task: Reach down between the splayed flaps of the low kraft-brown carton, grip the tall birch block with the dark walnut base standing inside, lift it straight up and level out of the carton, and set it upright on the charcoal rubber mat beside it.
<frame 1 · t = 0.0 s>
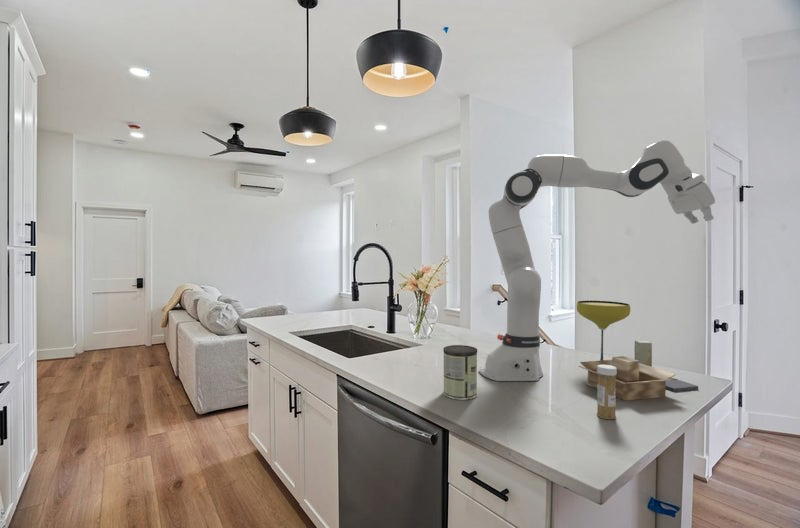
hand: (702, 221, 129), 54 cm above the table, tool tilted 30°, fingers open, 8 cm apart
coffee can: (459, 395, 121), on the table
box: (642, 371, 148), on the table
mat: (671, 385, 131), on the table
block: (625, 374, 126), in the carton
cocktail glass: (601, 369, 150), on the table
sprinkles bottle: (606, 417, 105), on the table
carton: (624, 390, 126), on the table
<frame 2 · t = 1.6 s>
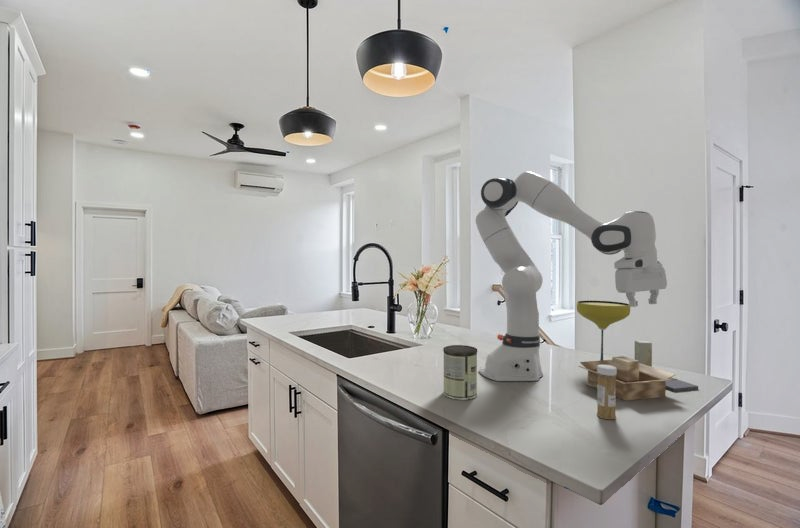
hand: (643, 305, 125), 27 cm above the table, tool pointing down, fingers open, 8 cm apart
nothing on the table moved.
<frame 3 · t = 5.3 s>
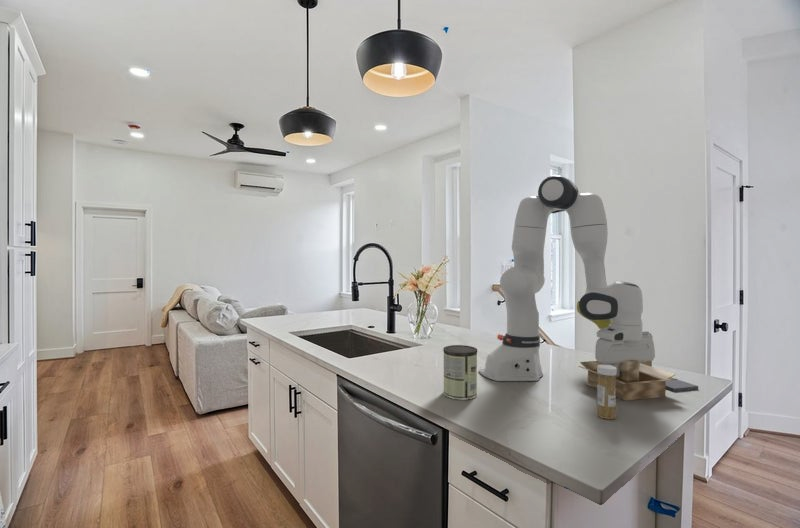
hand: (625, 375, 126), 5 cm above the table, tool pointing down, fingers closed on block, 4 cm apart
block: (625, 374, 126), in the carton, touching gripper
everything else where it was.
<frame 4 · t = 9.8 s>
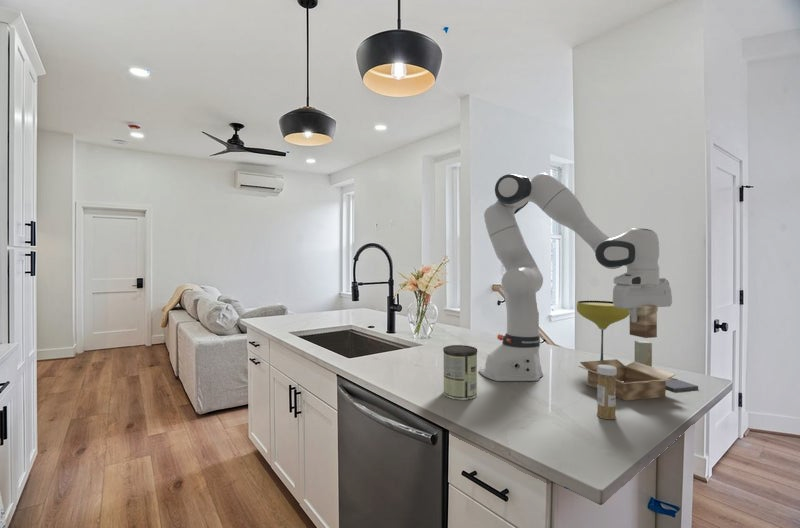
hand: (642, 321, 127), 22 cm above the table, tool pointing down, fingers closed on block, 4 cm apart
block: (642, 320, 127), point 22 cm above the table, touching gripper
everything else where it was.
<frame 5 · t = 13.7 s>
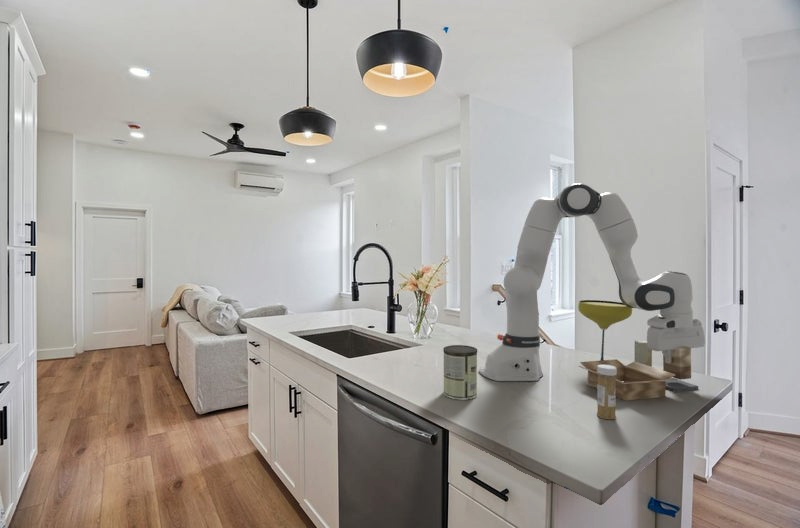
hand: (676, 362, 130), 8 cm above the table, tool pointing down, fingers closed on block, 4 cm apart
block: (676, 361, 130), point 8 cm above the table, touching gripper
cocktail glass: (601, 369, 150), on the table, touching arm
everything else where it was.
when the fingers open (8 cm above the table, at t = 14.4 s): block drops 2 cm, resting on mat.
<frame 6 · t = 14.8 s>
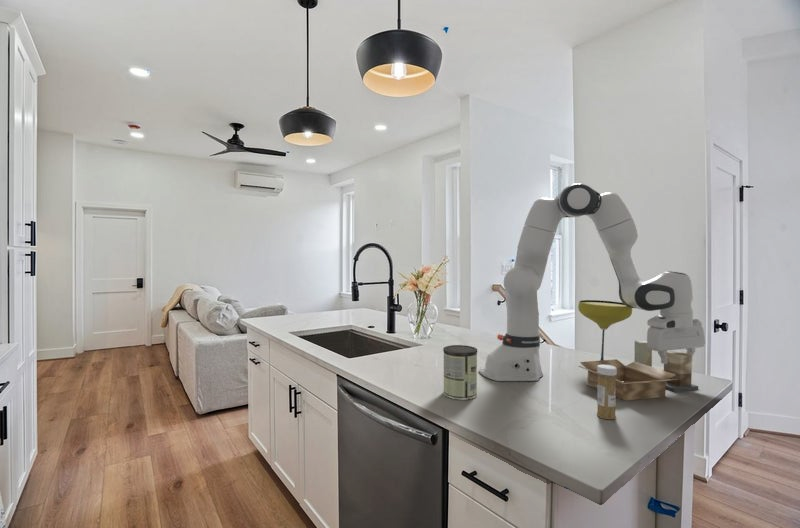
hand: (676, 362, 130), 8 cm above the table, tool pointing down, fingers open, 8 cm apart
block: (677, 368, 130), on the mat, point 6 cm above the table
everything else where it was.
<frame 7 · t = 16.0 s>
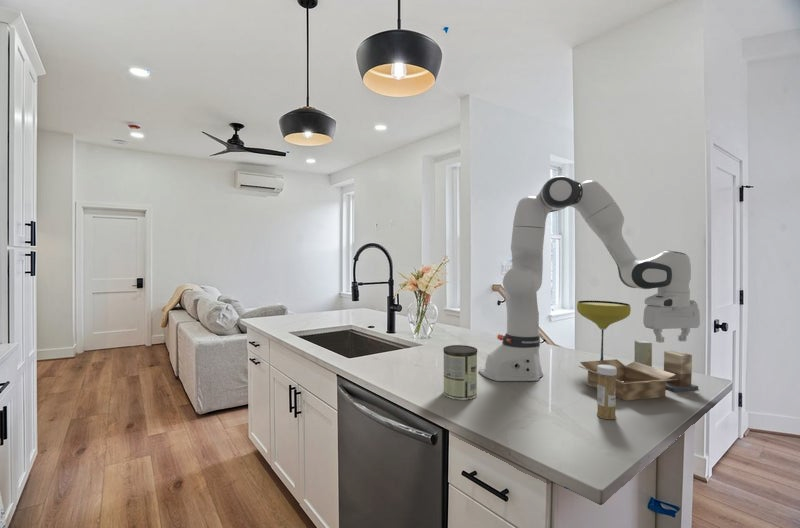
hand: (671, 341, 131), 15 cm above the table, tool pointing down, fingers open, 8 cm apart
cocktail glass: (601, 369, 150), on the table
everything else where it was.
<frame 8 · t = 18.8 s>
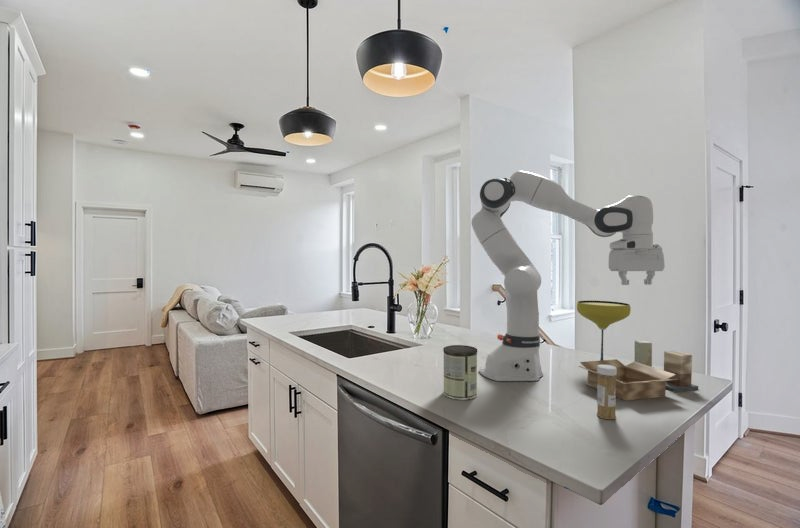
hand: (636, 284, 134), 33 cm above the table, tool pointing down, fingers open, 8 cm apart
nothing on the table moved.
at the end: block inside the target area (1.5 cm from its centre), point 6.0 cm above the table; block tilted 0°; the gripper is holding nothing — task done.
